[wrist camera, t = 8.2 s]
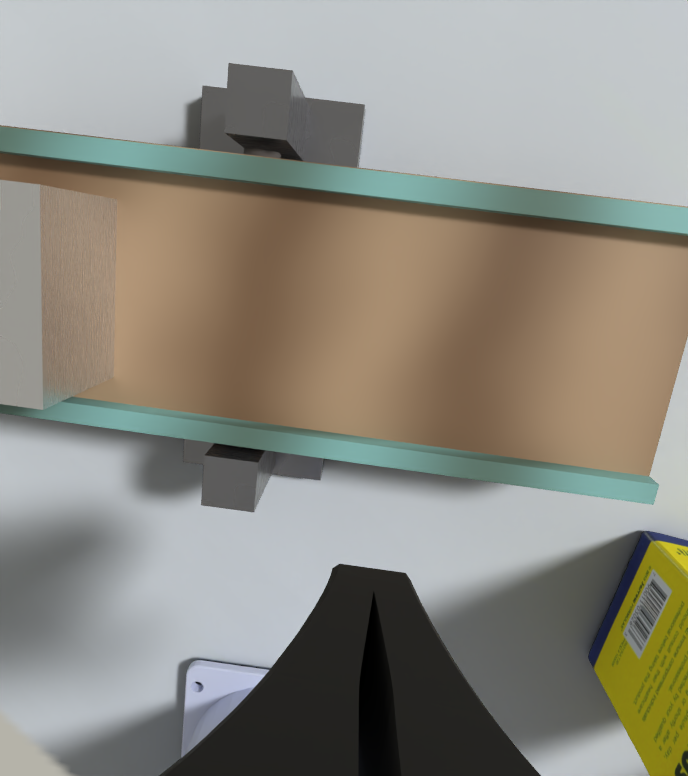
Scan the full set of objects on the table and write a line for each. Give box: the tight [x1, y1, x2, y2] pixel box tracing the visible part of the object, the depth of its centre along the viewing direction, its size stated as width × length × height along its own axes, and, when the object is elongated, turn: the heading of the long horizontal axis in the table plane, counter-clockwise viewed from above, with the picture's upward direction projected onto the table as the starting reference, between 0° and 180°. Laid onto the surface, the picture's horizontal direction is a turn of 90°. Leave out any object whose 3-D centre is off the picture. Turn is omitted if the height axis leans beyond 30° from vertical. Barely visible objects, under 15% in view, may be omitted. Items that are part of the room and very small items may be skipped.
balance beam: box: [0, 125, 688, 505], centre depth 16 cm, size 22×8×2 cm, turn 83°
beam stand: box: [183, 63, 365, 512], centre depth 17 cm, size 5×12×4 cm, turn 173°
